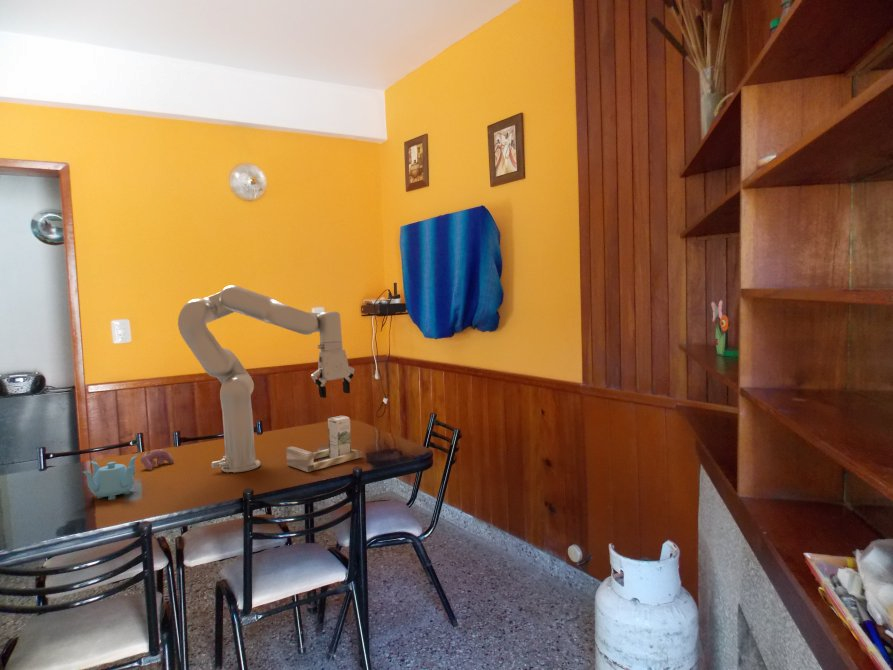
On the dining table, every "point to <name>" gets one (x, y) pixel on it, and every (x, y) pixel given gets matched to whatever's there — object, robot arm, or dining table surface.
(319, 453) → the frame
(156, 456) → the pink animal figurine
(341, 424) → the syrup box
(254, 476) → the dining table surface
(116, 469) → the teapot
